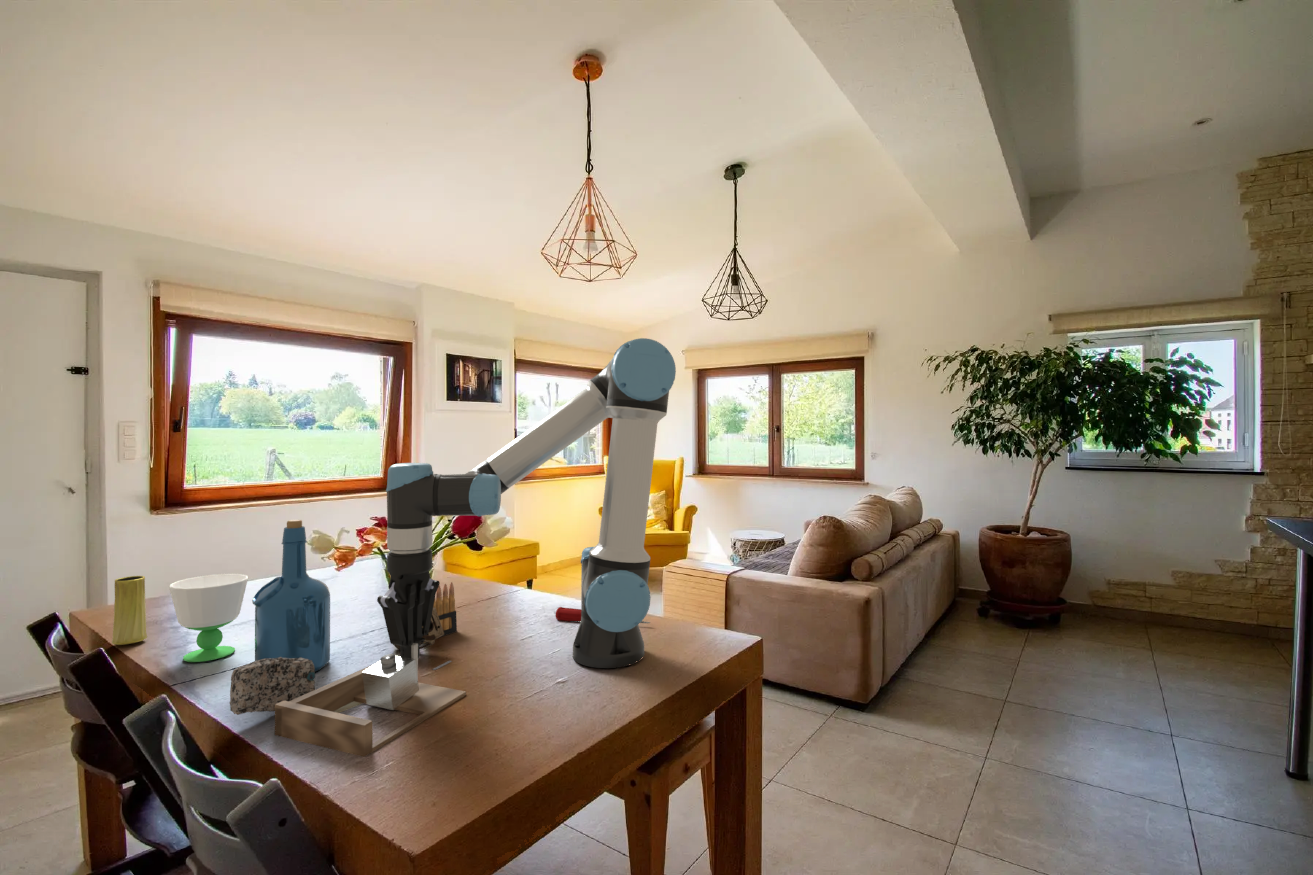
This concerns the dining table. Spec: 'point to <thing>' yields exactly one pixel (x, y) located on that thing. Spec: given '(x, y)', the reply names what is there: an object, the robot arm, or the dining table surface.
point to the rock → (270, 683)
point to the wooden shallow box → (326, 727)
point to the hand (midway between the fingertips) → (410, 678)
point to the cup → (208, 610)
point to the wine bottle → (293, 608)
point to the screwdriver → (571, 614)
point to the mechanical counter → (431, 631)
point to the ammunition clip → (446, 609)
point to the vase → (129, 610)
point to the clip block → (390, 681)
